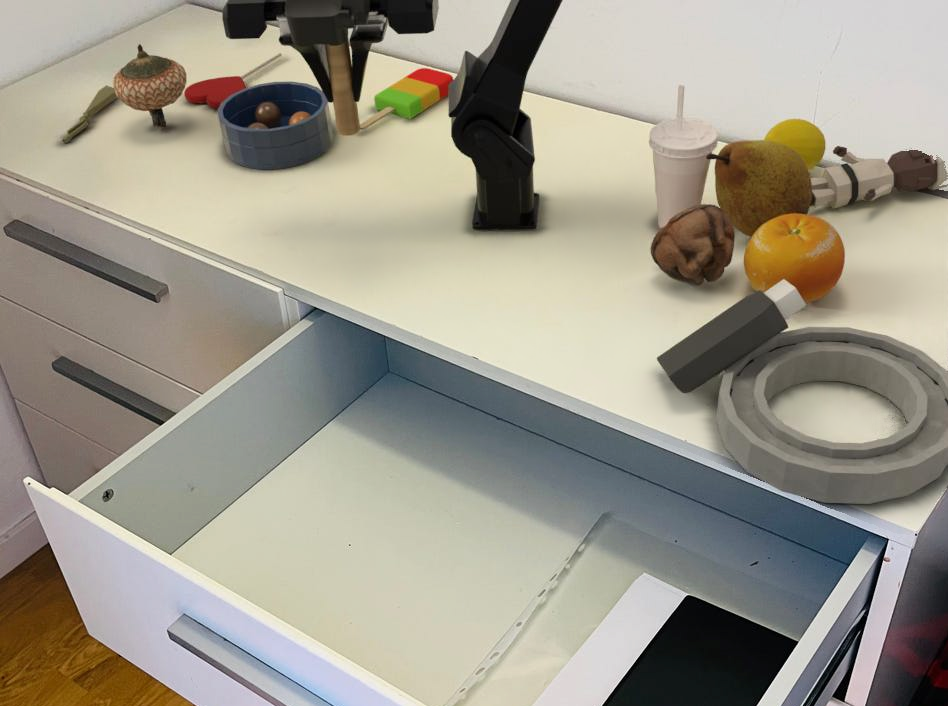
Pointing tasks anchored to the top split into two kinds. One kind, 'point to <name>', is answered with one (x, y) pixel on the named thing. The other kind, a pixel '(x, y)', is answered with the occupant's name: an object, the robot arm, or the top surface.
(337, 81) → the stick
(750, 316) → the usb drive
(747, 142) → the fruit
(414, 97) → the popsicle
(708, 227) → the brown walnut half
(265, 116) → the bead
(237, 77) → the lollipop
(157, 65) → the acorn
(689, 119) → the smoothie
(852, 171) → the toy
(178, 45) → the top surface
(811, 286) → the fruit
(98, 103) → the olive green tapered piece
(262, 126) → the bead
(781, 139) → the fruit
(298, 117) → the bead
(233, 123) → the bowl
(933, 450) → the mechanical component
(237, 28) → the robot arm
